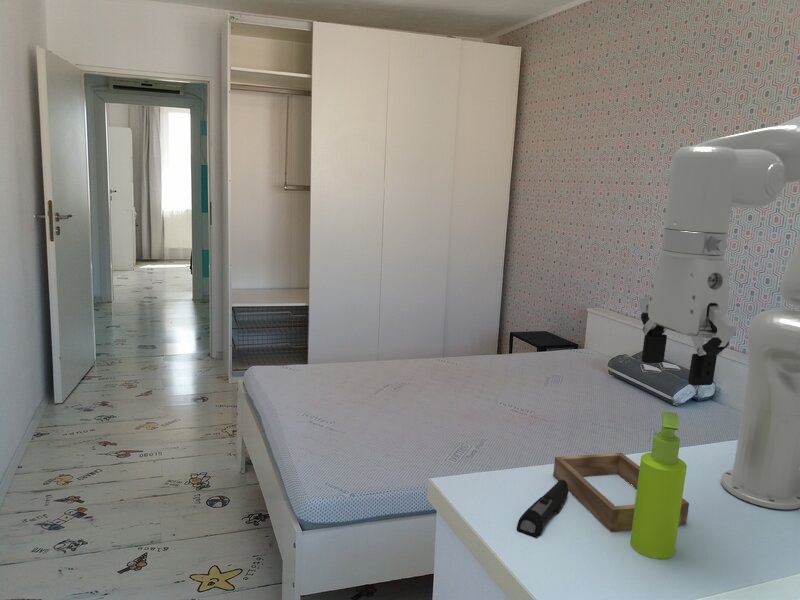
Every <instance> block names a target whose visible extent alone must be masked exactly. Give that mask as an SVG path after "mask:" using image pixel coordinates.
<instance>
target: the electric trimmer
mask: <svg viewBox="0 0 800 600" xmlns="http://www.w3.org/2000/svg"><path fill="white" fill-rule="evenodd" d="M568 495H569V491H568V485H567V482H566V481H565V480H560V481H558V480H557V482H556V483H555V484H554V485H553V486H552V487H551V488H550V489H549V490H548V491H547V492H546V493H545V494H543V495H542V496H540V497H539V498H538V499H537V500H536V501H534V503H533V504H532V505H531V506H529V507H528V508H527V509H526V510H525V511H524V512H523V514H522V515H521V516H520V518H519V519H518V522H517V526H516V531H517V533H520V534H523V535H525V536H528V537H531V538H534V539H536V538H537V537H540V536H541V535H542V533H543V531H544V524H545V523H546V522H547V520H549V519H550V517H551V516H552V514H557V513H559V512H560V511H561V510H562V507H563V505H564V503H565V501H566V499H567V497H568Z"/></svg>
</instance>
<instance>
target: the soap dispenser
mask: <svg viewBox="0 0 800 600" xmlns="http://www.w3.org/2000/svg"><path fill="white" fill-rule="evenodd" d="M661 419H662V420H661V421H662V422H661V429H660V430H661V431H659V432H656V433H654V435H653V439H652V445H651V446H652V448H651V452H646V453H643V454H642V455H641V456H640V462H639V466H640V470H639V477H638V485H637V489H636V494H635V503H634V504H635V508H634V516H633V524H632V530H631V533H630V538H629V539H630V546H631V547H632V549H634V550H635V551H636V552H638V553H639V554H641V555H643V556H645V557H648V558H652V559H655V560H656V559H657V560H666V559H670V558H673V556H674V555H675V550H676V545H677V536H678V531H679V525H678V524H679V517H680V510H681V503H682V498H683V496H684V488H685V481H686V474H687V467H688V466H687V464H686V462H685V461H684V460H682V459H681V458H679V453H680V452H679V449H680V445H681V439H680V437H678V436H677V435H675V432H676V431H679V429H680V424H679V417H678V414H677V412H672V411H671V412H670V411H665V410H664V411H663V410H662V412H661Z"/></svg>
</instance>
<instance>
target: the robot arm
mask: <svg viewBox="0 0 800 600" xmlns="http://www.w3.org/2000/svg"><path fill="white" fill-rule="evenodd" d="M796 181H797V182H798V188H799V189H798V190H799V191H800V115H799V116H797V117H794V118H792V119H790V120H787V121H785V122H782V123H780V124H777V125H773V126H768V127H761V128H758V129H753V130H750V131H746V132H745V131H744V132H741V133H736V134H731V135H726V136H722V137H721V136H720V137H717V138H713V139H712V138H711V139H709V140H706V141H704V142H699V143H698V144H695V145H687V146H683V147H680V148H679V149H678V150H676V152H675V154H674V155H673V158H672V162H671V164H670V166H669V169H668V172H667V176H666V185H667V188H668V192H667V193H668V194H667V201H666V208H665V209H666V210H665V217H664V222H663V223H664V224H663V231H662V240H661V246H660V252H659V256H658V258H657V261H656V266H655V270H654V273H653V277H652V282H651V286H650V292H649V294H648V295H647V296H646V295H645V297H642V298H640V299H639V308H640V312H641V314H640V319H641V321H642V324H643V326H642V333H643V334H644V336H643V337H644V338H643V345H642V346H643V347H642V353H641V362H642V363H643V364H662V363H663V362H664V360H665V355H666V354H665V352H666V349H667V348H666V347H667V338H668V335H667V334H665V333H666V331H667V330H669V331H673V332H675V333H679V334H681V335H684V336H687V337H690V338H691V341H692V343H693V346H694V349H695V352H696V353H692V355H691V359H690V366H689V374H688V380H687V382H688V385H691V386H696V387H697V386H711V385H712V384H713V383H714V378H715V377H714V376H715V371H716V364H717V357H718V356H721V355H722V353H723V351H724V350H726V348H727V347H729V345H730V341H731V339H732V338H733V337H734V334H735V333H736V331H737V327H736V325H735V324H734V323H733V322H732V320H730V318H728V309H729V296H730V271H729V270H730V269H729V261H728V259H725V255H726V254H725V253H726V250H727V248H728V241H727V240H728V235H729V234H728V233H729V229H730V222H731V215H732V209H733V208H741V209H742V208H743V209H753V208H754V209H756V208H761V207H764V206H768V205H769V204H771V203H773V202H775V200H777V198H778V197H780V195H781V194H782V192H783V191H784V189H785V186H786V184H787V183H788V184H789V183H793V182H796ZM779 292H780V296H781V299H782V300H783V301H784V302H785V303H787V304H788V305H790V306H793V307H796V308H800V238H799V239H798V241H797V244H796V246H795V247H794V250H793V253H792V254H791V256H790V260H789V263H788V264H787V266H786V268H785V271H784V273H783V276H782V279H781V283H780V289H779ZM704 339H706V342H704ZM746 339H747V343H746V344H747V361H748V363H747V365H748V366H747V377H746V385H745V393H744V399H743V404H742V406H743V407H742V412H741V417H740V425H739V430H738V437H737V442H736V449H735V450H736V451H735V455H734V463H733V467H732V468H733V469H729V470H726V471H724V472H723V473H722V474H721V479H720V482H721V483H720V484H721V485H722V486H723V488H724V489H725V490H726V491H727V492H728V493H730V494H731V495H733V496H734V497H736V498H738V499H741V500H743V501H745V502H748V503H750V504H753V505H756V506H760V507H764V508H769V509H774V510H775V509H776V510H795V509H799V508H800V311H798V310H791V309H784V308H783V309H781V308H773V309H767V310H763V311H761V312H760V313H759V312H758V314H756V315H754V317H753V318H752V320H751V322H750V323H749V326H748V330H747V338H746Z"/></svg>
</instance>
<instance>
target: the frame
mask: <svg viewBox="0 0 800 600" xmlns="http://www.w3.org/2000/svg"><path fill="white" fill-rule="evenodd" d="M639 470H640V464H638V463H636V462H634V461H633V460H632V459H630V458H629V457H628V456H626V455H625V454H624V453H623V452H612V453H611V452H610V453H609V452H608V453H597V454H582V455H581V454H580V455H579V454H578V455H566V456H555V457H554V464H553V474H552V476H553V477H554V478H555V479H556V480H557V482H558V481H560V480H565V481H566V482H567V485H568V492H569V491H570V492H571V493H572V494H573V495H574V496H575V497H576V498H577V499H578V500H579V501H580V502H581V503H580V502H579V501H578V500H577V499H576V498H575V497H574V496H573V495H572V494H571V493H570V492H569V493H570V494H571V495H572V496H573V497H574V498H575V499H576V500H577V501H578V502H579V503H580V504H581V505H582V506H583V507H584V508H586V509H587V510H588V511H589V512H590V513H591V514H592V516H593V517H595V518H596V519H597V521H599V522H600V523H601V524H602V525H603V526H604V527H605V528H606V529H607V530H608V531H609V532H610V533H613V532H621V531H622V532H623V531H624V532H625V531H632V524H633V516H634V508H635V503H634V504H625V505H622V504H621V505H615V504H614V503H613V502H611V501H610V500H609V498H607V497H606V496H605V495H603V494H602V492H600V491H599V489H597V488H596V487H594V485H593V484H591V483H590V482H589V481H588V480H587V479H586V478H585V477H592V475H594V476H606V475H618V476H619V475H620V476H619V477H620V478H622V479H623V478H624V479H625V480H624V479H623V480H624V481H626V480H627V481H628V482H629V483H630V484H629V483H628V482H627V481H626V482H627V483H628V484H629V485H631V484H632V485H633V486H634V487H635V488H634V487H633V486H632V485H631V486H632V487H633V488H634V489H635V490H637V485H638V477H639ZM689 507H690V502H688V501H687V500H686V499H684V498H683V497H682V503H681V510H680V517H679V524H678V526H682V525H687V521H688V515H689Z"/></svg>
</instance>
